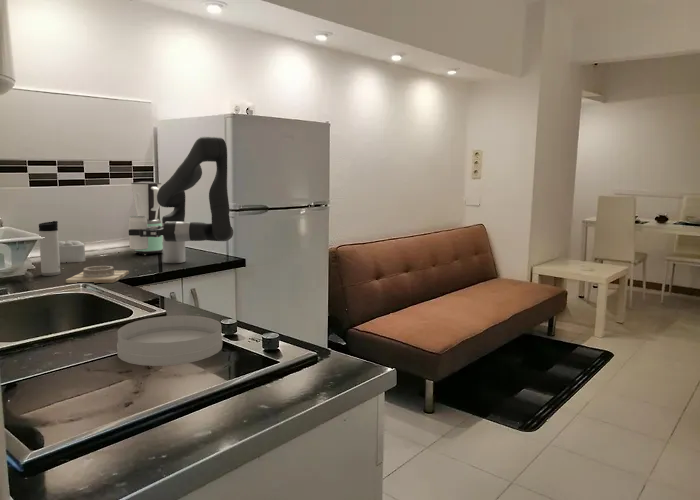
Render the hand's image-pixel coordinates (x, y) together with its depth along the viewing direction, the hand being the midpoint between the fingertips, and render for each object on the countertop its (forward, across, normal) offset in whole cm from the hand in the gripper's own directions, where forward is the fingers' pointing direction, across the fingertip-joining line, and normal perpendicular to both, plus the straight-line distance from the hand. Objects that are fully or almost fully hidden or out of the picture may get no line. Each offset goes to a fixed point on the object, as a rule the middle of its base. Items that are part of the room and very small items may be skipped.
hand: (131, 231), depth 199 cm
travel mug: (+32, -6, +17) cm, 37 cm away
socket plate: (+12, +2, +17) cm, 21 cm away
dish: (-32, +87, +17) cm, 95 cm away
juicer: (+10, -61, +18) cm, 64 cm away
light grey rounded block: (+39, -40, +18) cm, 58 cm away
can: (-2, 0, +7) cm, 7 cm away
